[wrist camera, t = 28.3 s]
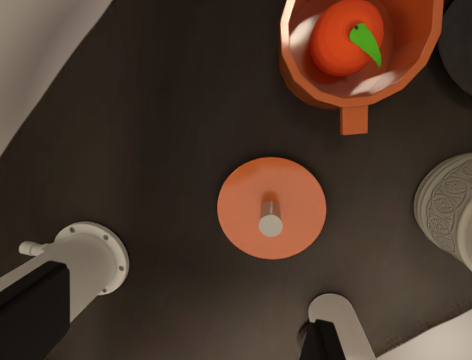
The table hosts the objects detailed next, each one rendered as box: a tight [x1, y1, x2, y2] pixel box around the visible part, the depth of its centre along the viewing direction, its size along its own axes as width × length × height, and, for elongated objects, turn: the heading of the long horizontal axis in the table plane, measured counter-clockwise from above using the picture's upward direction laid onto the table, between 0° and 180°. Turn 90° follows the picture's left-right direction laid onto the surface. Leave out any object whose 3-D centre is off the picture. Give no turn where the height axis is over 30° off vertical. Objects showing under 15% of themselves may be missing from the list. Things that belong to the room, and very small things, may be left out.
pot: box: [277, 0, 444, 135], centre depth 26 cm, size 14×19×8 cm
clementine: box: [310, 0, 384, 76], centre depth 26 cm, size 8×7×7 cm
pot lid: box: [217, 157, 326, 259], centre depth 32 cm, size 15×15×6 cm
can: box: [308, 293, 376, 360], centre depth 32 cm, size 6×6×12 cm
